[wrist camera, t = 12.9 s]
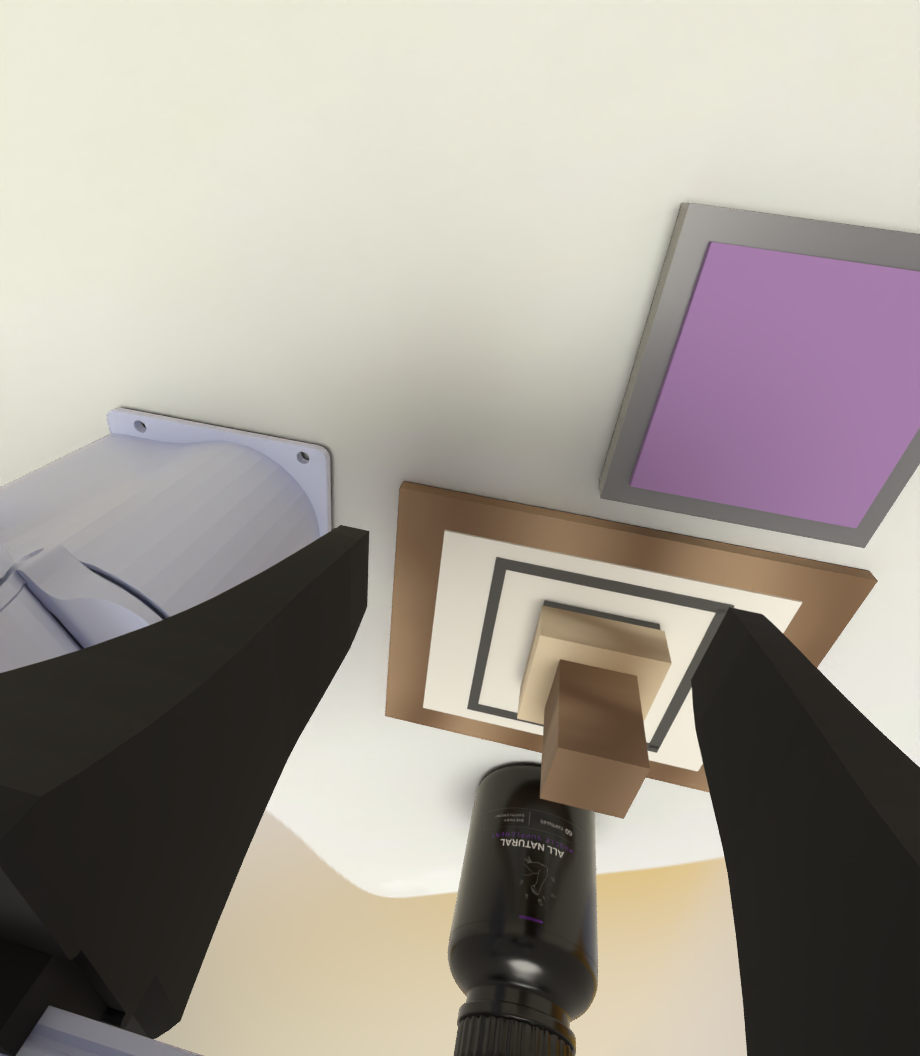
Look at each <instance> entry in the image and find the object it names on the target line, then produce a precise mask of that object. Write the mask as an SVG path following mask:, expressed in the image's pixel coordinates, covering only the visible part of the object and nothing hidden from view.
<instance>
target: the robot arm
mask: <svg viewBox="0 0 920 1056" xmlns="http://www.w3.org/2000/svg"><path fill="white" fill-rule="evenodd" d="M107 421H108V425H109V428H110V432H111V434H109V435H107V436H105V437H103V438H101V439H99V440H97V441H94V442H92V443H90V444H88V445H86V446H84V447H82V448H80V449H78V450H76V451H74V452H72V453H70V454H68V455H66V456H64V457H62V458H59V459H57V460H55V461H53V462H51V463H49V464H47V465H45V466H43V467H41V468H39V469H37V470H35V471H33V472H31V473H29V474H27V475H24V476H22V477H20V478H18V479H16V480H14V481H12V482H10V483H8V484H6V485H4V486H2V487H0V1056H202V1055H199V1054H196V1053H193V1052H190V1051H187V1050H184V1049H181V1048H178V1047H175V1046H172V1045H169V1044H166V1043H162V1042H159V1041H156V1040H153V1039H155V1038H157V1037H159V1036H160V1035H162V1034H164V1033H165V1032H167V1031H168V1030H170V1029H171V1028H172V1027H173V1026H175V1025H176V1024H177V1023H178V1022H180V1020H181V1018H182V1015H183V1013H184V1010H185V1007H186V1004H187V1002H188V999H189V996H190V994H191V991H192V988H193V985H194V983H195V981H196V978H197V975H198V973H199V970H200V968H201V965H202V962H203V960H204V957H205V955H206V952H207V949H208V947H209V944H210V942H211V939H212V936H213V933H214V931H215V929H216V926H217V924H218V921H219V919H220V916H221V914H222V911H223V909H224V906H225V904H226V901H227V899H228V896H229V894H230V892H231V889H232V887H233V884H234V882H235V879H236V877H237V874H238V872H239V869H240V867H241V865H242V862H243V859H244V857H245V855H246V853H247V850H248V848H249V845H250V843H251V841H252V839H253V836H254V834H255V832H256V829H257V827H258V825H259V822H260V820H261V818H262V815H263V813H264V811H265V808H266V806H267V804H268V802H269V800H270V797H271V795H272V793H273V791H274V788H275V786H276V784H277V782H278V779H279V777H280V775H281V773H282V771H283V768H284V766H285V764H286V762H287V760H288V758H289V756H290V754H291V752H292V750H293V748H294V746H295V744H296V742H297V740H298V738H299V737H300V735H301V733H302V731H303V730H304V728H305V726H306V724H307V723H308V721H309V719H310V717H311V716H312V714H313V712H314V711H315V709H316V707H317V705H318V704H319V702H320V700H321V698H322V697H323V695H324V693H325V691H326V690H327V688H328V686H329V684H330V683H331V681H332V679H333V677H334V676H335V674H336V672H337V670H338V669H339V667H340V665H341V663H342V661H343V660H344V658H345V656H346V654H347V653H348V651H349V649H350V647H351V645H352V642H353V640H354V638H355V635H356V633H357V630H358V628H359V626H360V623H361V621H362V618H363V615H364V613H365V610H366V608H367V591H368V553H369V531H366V530H361V529H357V528H352V527H347V526H342V525H340V526H339V527H337V528H335V529H333V530H332V529H331V471H330V455H329V453H328V452H327V450H326V449H325V448H323V447H321V446H319V445H314V444H309V443H304V442H298V441H293V440H288V439H283V438H277V437H272V436H267V435H262V434H256V433H251V432H246V431H240V430H235V429H230V428H225V427H219V426H214V425H209V424H204V423H198V422H193V421H188V420H182V419H177V418H172V417H167V416H161V415H156V414H151V413H146V412H140V411H135V410H130V409H124V408H115V409H113V410H111V411H109V412H108V414H107ZM141 422H143V423H144V424H145V426H146V428H144V427H143V426H142V424H141ZM301 452H304V453H306V454H307V455H308V457H309V460H306V459H304V458H303V457H302V455H301ZM691 686H692V700H693V712H694V721H695V730H696V734H697V739H698V744H699V748H700V752H701V757H702V761H703V766H704V770H705V774H706V778H707V783H708V787H709V791H710V795H711V800H712V804H713V808H714V812H715V817H716V821H717V825H718V829H719V834H720V838H721V842H722V846H723V851H724V857H725V862H726V867H727V872H728V878H729V885H730V893H731V901H732V909H733V916H734V924H735V932H736V940H737V948H738V958H739V968H740V978H741V987H742V996H743V1006H744V1019H745V1032H746V1045H747V1056H920V767H919V766H917V765H916V764H915V763H914V762H913V761H912V760H911V759H910V758H909V757H908V756H906V755H905V754H904V753H903V752H902V751H901V750H900V749H899V748H898V747H897V746H896V745H895V744H894V743H892V742H891V741H890V740H889V739H888V738H887V737H886V736H885V735H884V734H883V733H882V732H881V731H879V730H878V729H877V728H876V727H875V726H874V725H873V724H872V723H871V722H870V721H869V720H868V719H867V718H866V717H865V716H864V715H863V714H862V713H861V712H860V711H859V710H858V709H857V708H856V707H855V706H854V705H853V704H852V703H851V702H850V701H849V700H848V699H847V698H846V697H845V696H844V695H843V694H842V693H841V692H840V691H839V690H838V689H837V688H836V687H835V686H834V685H833V684H832V683H831V682H830V681H829V680H828V679H827V678H826V677H825V676H824V675H823V674H822V673H821V672H820V671H819V670H818V669H817V668H816V667H815V666H814V665H813V664H812V663H811V662H810V661H809V660H808V659H807V657H806V656H805V655H804V654H803V653H802V652H801V651H800V650H799V649H798V648H797V647H796V646H795V645H794V644H793V643H792V642H791V641H790V640H789V639H788V638H787V637H786V636H785V635H784V634H783V633H782V632H781V631H780V630H779V629H778V628H777V627H776V626H775V625H774V624H773V623H772V622H771V621H770V620H768V619H767V618H766V617H765V616H764V615H763V614H760V613H755V612H750V611H745V610H741V609H736V608H731V607H729V609H728V611H727V613H726V615H725V616H724V618H723V620H722V622H721V624H720V626H719V628H718V630H717V632H716V633H715V635H714V637H713V639H712V641H711V643H710V645H709V647H708V649H707V651H706V652H705V654H704V656H703V658H702V660H701V662H700V664H699V666H698V668H697V669H696V671H695V673H694V675H693V677H692V679H691Z"/></svg>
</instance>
